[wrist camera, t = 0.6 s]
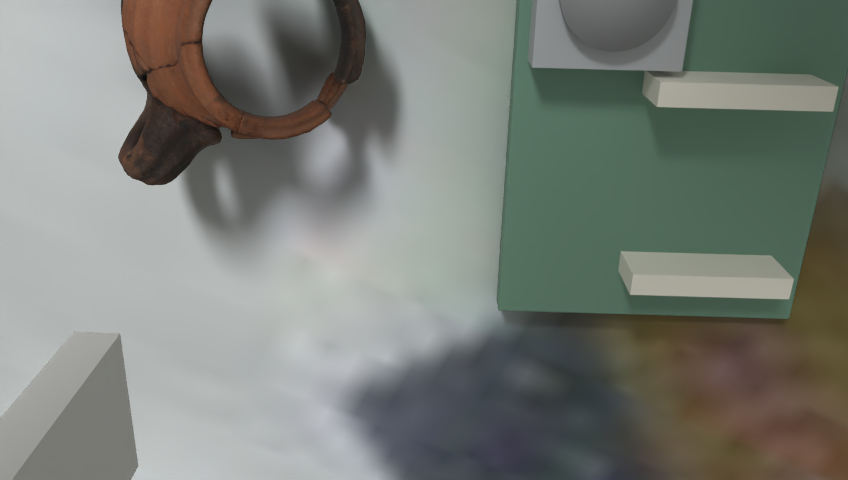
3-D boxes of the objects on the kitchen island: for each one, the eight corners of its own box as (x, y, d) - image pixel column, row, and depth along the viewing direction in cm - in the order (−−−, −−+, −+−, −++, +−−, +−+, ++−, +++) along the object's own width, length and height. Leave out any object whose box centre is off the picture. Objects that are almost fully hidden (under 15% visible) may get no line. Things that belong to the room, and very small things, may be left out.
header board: (523, -96, 31) (533, -96, 28) (868, -87, 31) (921, -86, 28) (496, 298, 39) (502, 336, 35) (778, 307, 38) (811, 345, 35)
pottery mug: (165, -144, 32) (224, -149, 25) (346, -18, 37) (431, 5, 31) (34, 115, 33) (58, 175, 26) (229, 198, 38) (288, 265, 32)
